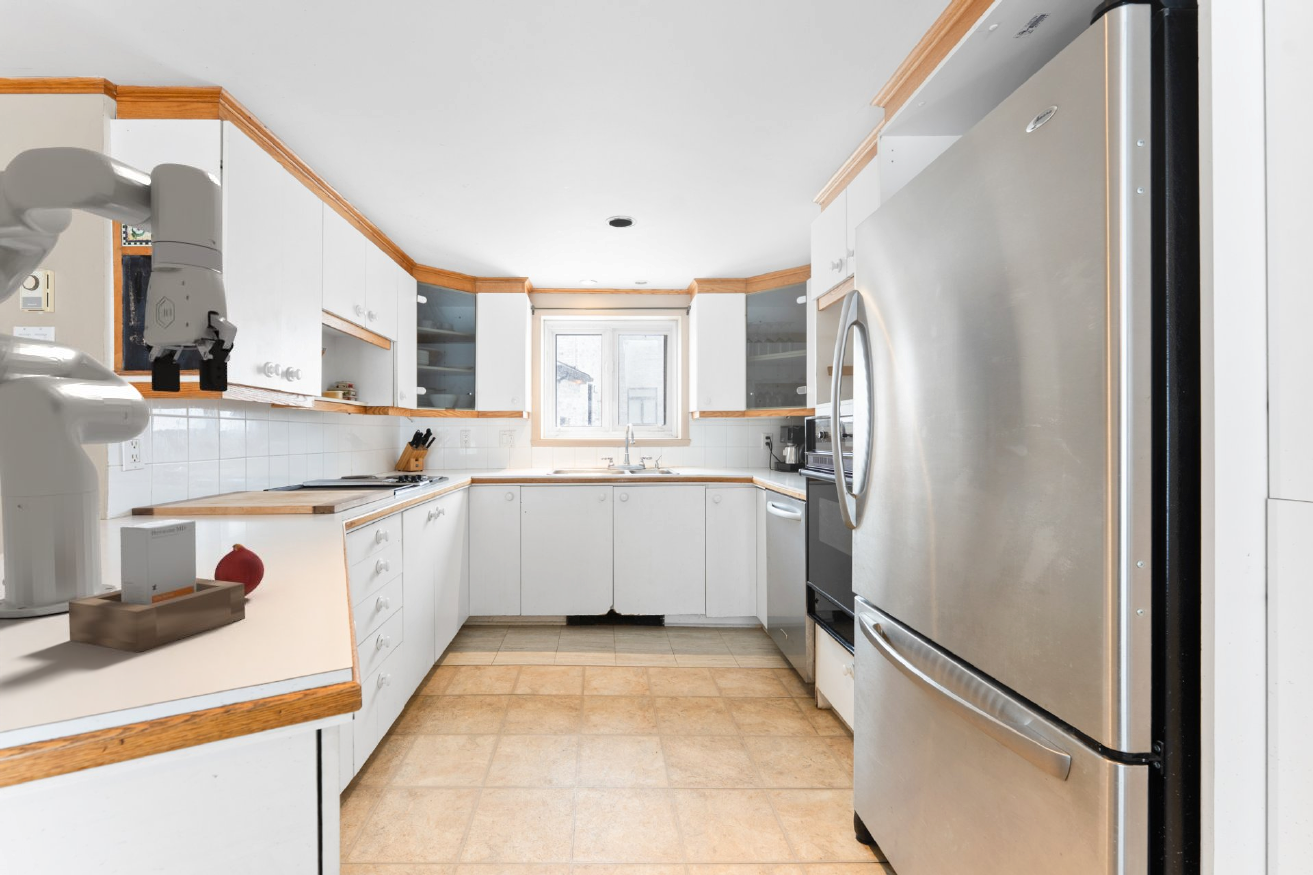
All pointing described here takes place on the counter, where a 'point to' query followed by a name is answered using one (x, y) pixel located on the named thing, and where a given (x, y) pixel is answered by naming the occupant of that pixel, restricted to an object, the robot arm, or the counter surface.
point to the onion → (240, 568)
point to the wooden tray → (155, 616)
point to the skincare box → (158, 561)
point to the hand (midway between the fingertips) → (189, 391)
